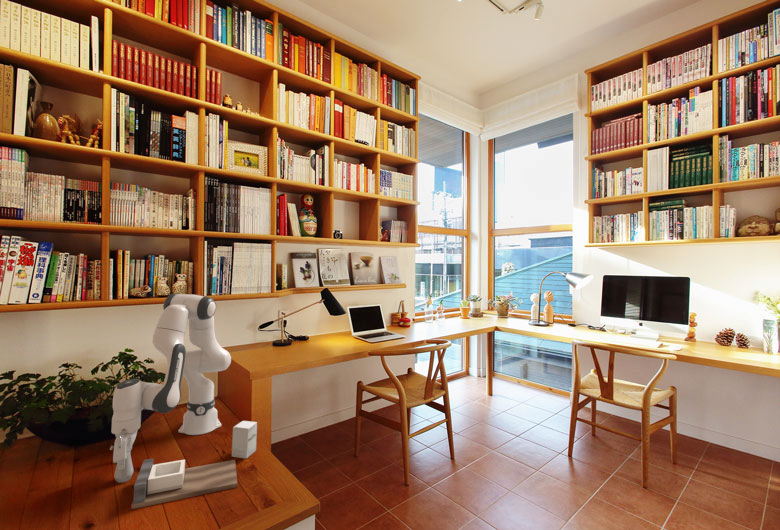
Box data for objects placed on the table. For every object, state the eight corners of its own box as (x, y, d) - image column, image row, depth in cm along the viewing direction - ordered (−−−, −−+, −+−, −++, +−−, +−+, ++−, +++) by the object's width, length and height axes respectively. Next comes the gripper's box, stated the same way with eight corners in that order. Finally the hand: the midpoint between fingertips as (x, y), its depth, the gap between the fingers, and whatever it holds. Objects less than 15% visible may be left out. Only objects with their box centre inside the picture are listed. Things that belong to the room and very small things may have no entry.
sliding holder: (152, 478, 134) (152, 464, 134) (184, 472, 138) (185, 459, 138) (147, 494, 124) (147, 479, 124) (182, 487, 129) (182, 473, 129)
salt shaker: (137, 477, 138) (138, 442, 138) (122, 485, 132) (123, 449, 132) (125, 474, 139) (126, 440, 139) (110, 482, 134) (111, 446, 134)
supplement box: (246, 459, 153) (247, 428, 153) (231, 456, 154) (232, 426, 155) (256, 450, 160) (257, 421, 160) (241, 448, 162) (242, 420, 162)
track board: (141, 480, 135) (142, 460, 136) (234, 463, 149) (235, 444, 149) (131, 509, 119) (132, 486, 119) (237, 487, 133) (238, 466, 133)
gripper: (130, 434, 128) (129, 474, 128) (141, 414, 146) (139, 449, 146) (108, 437, 125) (106, 478, 125) (122, 416, 144) (120, 451, 143)
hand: (124, 462), depth 136 cm, fingers open, 8 cm apart
